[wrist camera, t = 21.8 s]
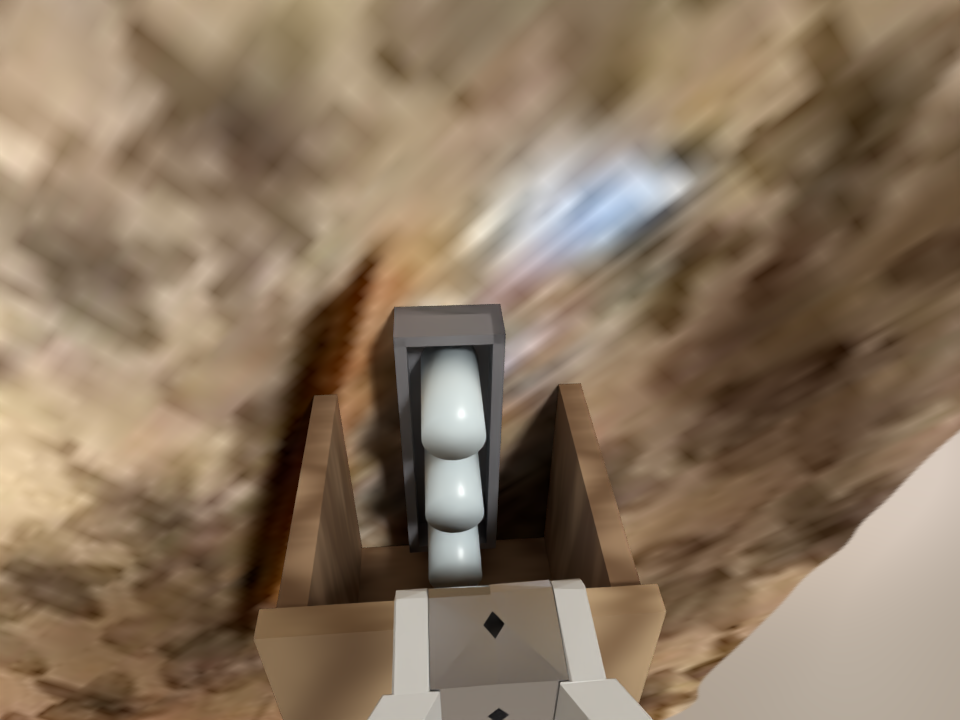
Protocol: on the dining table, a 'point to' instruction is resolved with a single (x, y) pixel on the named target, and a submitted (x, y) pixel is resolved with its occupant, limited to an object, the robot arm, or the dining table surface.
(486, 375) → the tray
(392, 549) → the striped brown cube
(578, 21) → the dining table surface
